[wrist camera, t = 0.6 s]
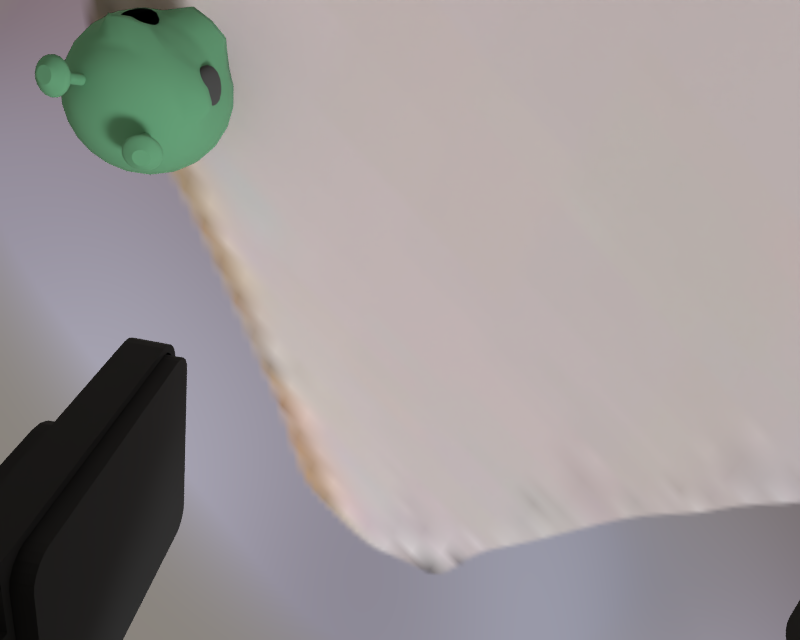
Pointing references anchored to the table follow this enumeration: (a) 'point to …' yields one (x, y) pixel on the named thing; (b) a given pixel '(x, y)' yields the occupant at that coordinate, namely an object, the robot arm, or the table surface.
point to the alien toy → (145, 88)
